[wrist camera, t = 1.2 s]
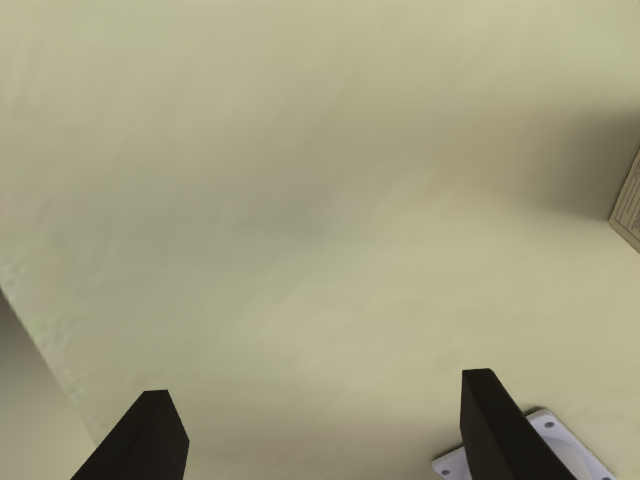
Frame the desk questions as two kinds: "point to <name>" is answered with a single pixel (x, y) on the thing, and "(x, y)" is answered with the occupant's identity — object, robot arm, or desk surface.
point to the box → (629, 208)
